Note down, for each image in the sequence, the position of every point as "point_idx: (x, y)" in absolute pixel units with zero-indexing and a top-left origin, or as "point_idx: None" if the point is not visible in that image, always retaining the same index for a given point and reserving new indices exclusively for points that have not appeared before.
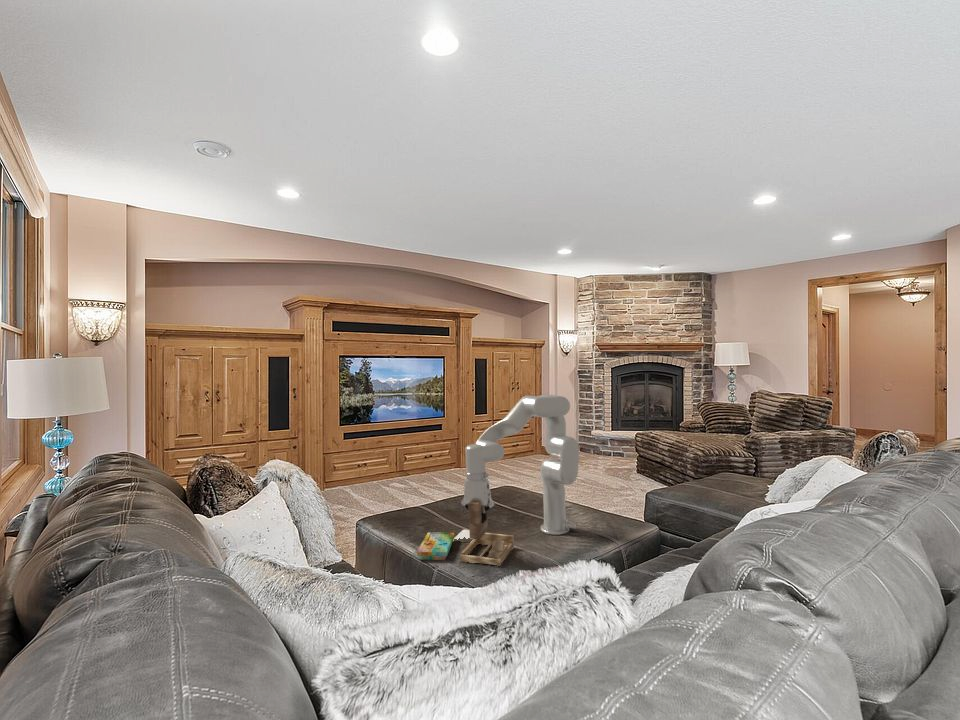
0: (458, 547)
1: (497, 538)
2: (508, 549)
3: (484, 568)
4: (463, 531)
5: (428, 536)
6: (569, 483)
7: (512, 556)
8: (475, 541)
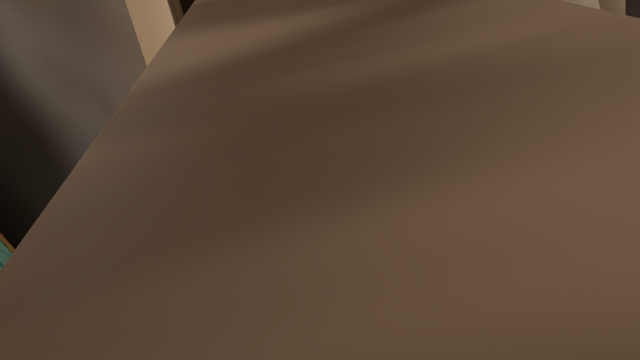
0: (7, 95)
1: None
2: (621, 2)
3: None
4: None
5: None
6: None
7: (630, 9)
8: (173, 13)
